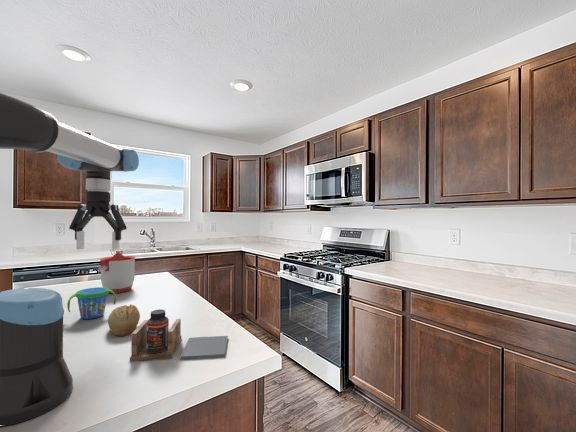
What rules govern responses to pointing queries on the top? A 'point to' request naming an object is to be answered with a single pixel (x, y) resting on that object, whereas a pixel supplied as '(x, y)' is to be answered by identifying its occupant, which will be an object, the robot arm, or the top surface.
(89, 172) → the robot arm
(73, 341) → the top surface
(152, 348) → the supplement bottle
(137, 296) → the top surface
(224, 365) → the top surface
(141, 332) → the rack
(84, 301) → the snack cup
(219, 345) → the coaster
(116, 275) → the citrus juicer
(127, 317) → the bread roll
